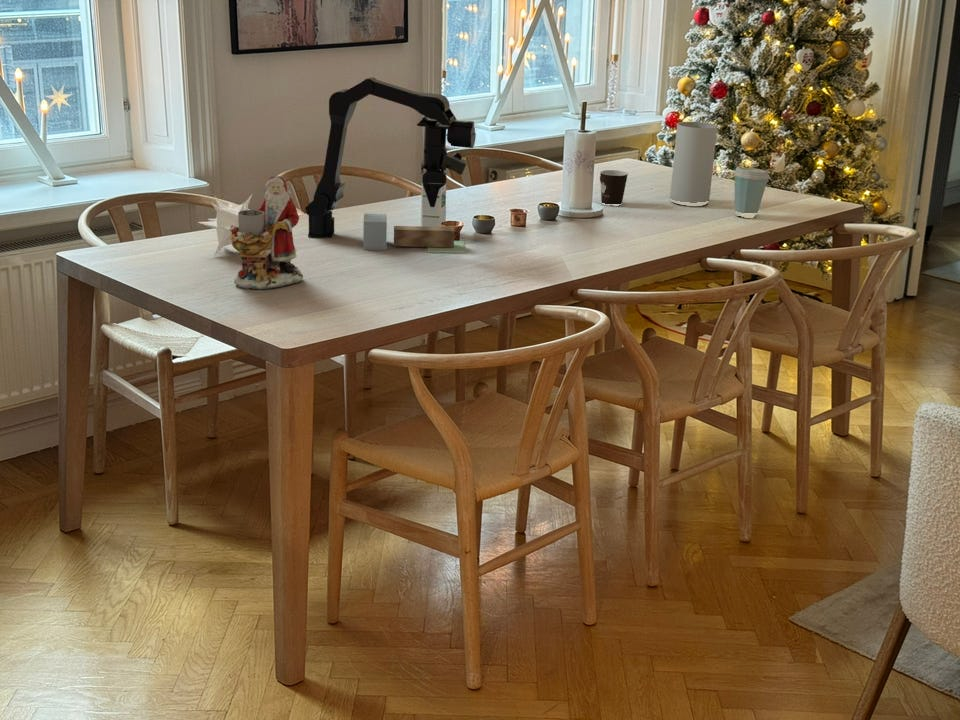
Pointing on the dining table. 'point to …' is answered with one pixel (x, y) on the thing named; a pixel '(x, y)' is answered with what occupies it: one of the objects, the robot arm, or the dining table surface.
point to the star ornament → (225, 221)
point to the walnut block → (423, 236)
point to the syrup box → (433, 209)
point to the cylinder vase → (693, 162)
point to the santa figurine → (267, 240)
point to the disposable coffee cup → (749, 189)
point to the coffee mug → (612, 186)
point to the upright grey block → (375, 231)
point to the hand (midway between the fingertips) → (431, 202)
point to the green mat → (449, 248)
